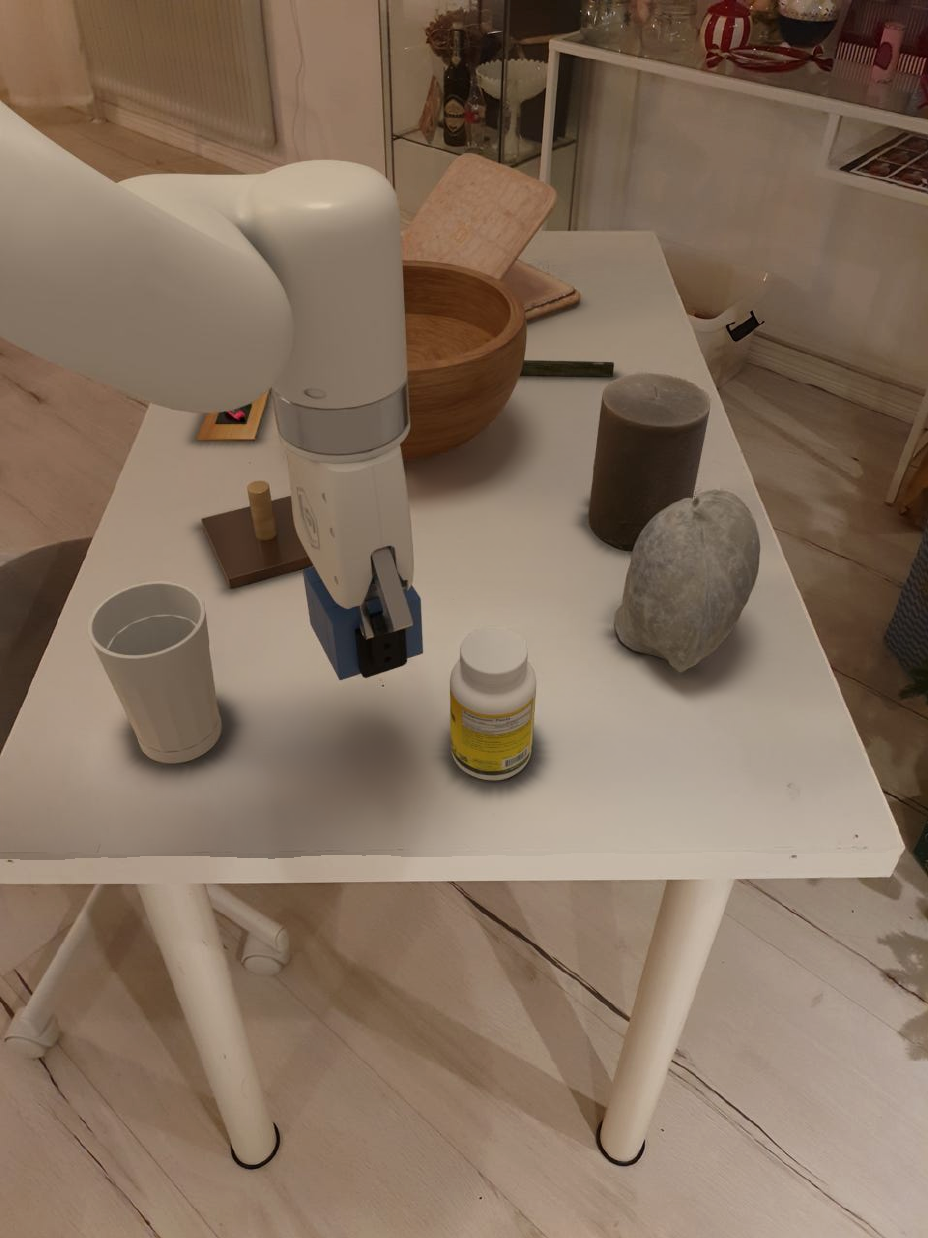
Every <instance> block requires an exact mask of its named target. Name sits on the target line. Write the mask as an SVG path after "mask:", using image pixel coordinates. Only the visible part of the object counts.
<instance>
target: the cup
mask: <svg viewBox="0 0 928 1238" xmlns="http://www.w3.org/2000/svg"><path fill="white" fill-rule="evenodd" d="M87 636H88V639H89V641H90V643H91V645H92V647H93V649H94V650H95V652H96V655H97V656H98V659H99V661H100V663H101V665H102V666H103V669H104V671H105V673H106V675H107V677H108V679H109V682H110V683H111V686H112V687H113V689H114V691H115V694H116V697H117V698H118V700H119V702H120V704H121V706H122V708H123V711H124V713H125V715H126V717H127V719H128V721H129V723H130V725H131V727H132V730H133V732H134V734H135V736H136V738H137V741H138V745H139V746H140V749H141V751H142V752H143V753H144V754H145V756H147V757H148V758H150V759H151V760H153V761H156V762H159V763H162V764H180V763H186V762H190V761H192V760H195V759H198V758H199V757H201V756H203V755H204V754H206V753H207V752H208V751H210V750H211V749H213V747H214V746H215V744H216V743H217V742H218V740H219V739H220V736H221V734H222V729H223V724H222V717H221V715H220V711H219V708H218V701H217V694H216V687H215V686H216V685H215V679H214V672H213V665H212V658H211V650H210V638H209V637H210V635H209V629H208V619H207V611H206V605H205V602H204V600H203V598H202V597H201V595H200V594H199V592H197V591H196V590H194V589H193V588H191V587H189V586H187V585H185V584H183V583H178V582H175V581H167V580H157V581H156V580H154V581H144V582H139V583H135V584H132V585H129V586H126V587H124V588H121V589H119V590H117V591H115V592H114V593H112V594H110V595H109V596H108V597H106V598H105V599H104V600H102V601H101V602H100V603H99V604H98V605H97V606H96V607H95V609H94V610H93V611H92V612H91V615H90V617H89V619H88V622H87Z"/></svg>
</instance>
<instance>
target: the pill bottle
mask: <svg viewBox="0 0 928 1238" xmlns="http://www.w3.org/2000/svg"><path fill="white" fill-rule="evenodd" d="M528 656H529V650H528V645H527V642H526V641H525V639H524V638H523V637H522V636H521V635H520V634H519V633H517V631H515V630H513V629H510V628H508V627H504V626H497V625H496V626H495V625H490V626H483V627H480V628H477V629H474V630H473V631H471V632H469V633H468V634H467V635H466V636H465V637H464V639H463V640H462V641H461V644H460V648H459V659H457V661H456V662H455V664H454V665H453V667H452V669H451V672H450V676H449V700H450V701H449V708H450V709H449V712H450V713H449V717H450V718H449V720H450V721H449V722H450V751H451V756H452V757H453V760H454V761H455V763H456V765H457V766H458V768H460V769H461V770H462V771H463V772H465V773H466V774H468V775H470V776H473V777H474V778H477V779H480V780H485V781H501V780H505V779H509V778H511V777H513V776H514V775H515V776H516V774H518V773H519V772H520V771H522V770H523V769H524V768H525V767H526V766H527V764H528V762H529V760H530V759H531V756H532V751H533V741H534V740H533V738H534V725H535V710H536V698H537V676H536V672H535V670H534V668H533V666H532V664H531V663H530V662H529V661H528Z"/></svg>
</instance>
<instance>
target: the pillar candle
mask: <svg viewBox="0 0 928 1238" xmlns="http://www.w3.org/2000/svg"><path fill="white" fill-rule="evenodd" d="M711 401H712V399H711V397H710V395H709V394H708V392H707V391H706V390H705V389H702V388H700V387H699V386H698V385H697V384H695V383H694V382H690V381H689V380H687V379H685V378H681V377H677V376H673V375H669V374H665V373H653V372H647V371H642V372H640V371H639V372H635V373H634V374H628V375H624V376H621V377H619V378H616V379H614V380H612V381H611V382H609V383H608V384H607V385H606V386H605V387H604V389H603V391H602V395H601V403H600V412H599V420H598V428H597V437H596V445H595V452H594V460H593V462H594V463H593V468H592V481H591V488H590V496H589V497H590V499H589V505H588V515H587V516H588V523H589V526H590V528H591V530H592V532H593V533H594V534H595V535H596V536H597V537H598V538H599V539H601V540H602V541H604V542H606V543H609V544H610V545H612V546H614V547H616V548H619V549H621V550H626V551H631V552H633V549H634V546H635V543H636V541H637V539H638V537H639V535H640V533H641V531H642V530H643V529H644V527H645V526H646V525H647V523H648V522H649V521H650V520H651V519H652V518H653V517H654V516H655V515H656V514H657V513H659V512H660V511H662V510H663V509H665V508H666V507H668V506H669V505H671V504H672V503H675V502H678V501H680V500H682V499H684V498H692V499H693V498H694V495H695V494H694V493H695V490H696V485H697V479H698V473H699V468H700V463H701V459H702V458H701V457H702V453H703V449H704V442H705V438H706V433H707V426H708V423H709V417H710V411H711Z"/></svg>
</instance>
